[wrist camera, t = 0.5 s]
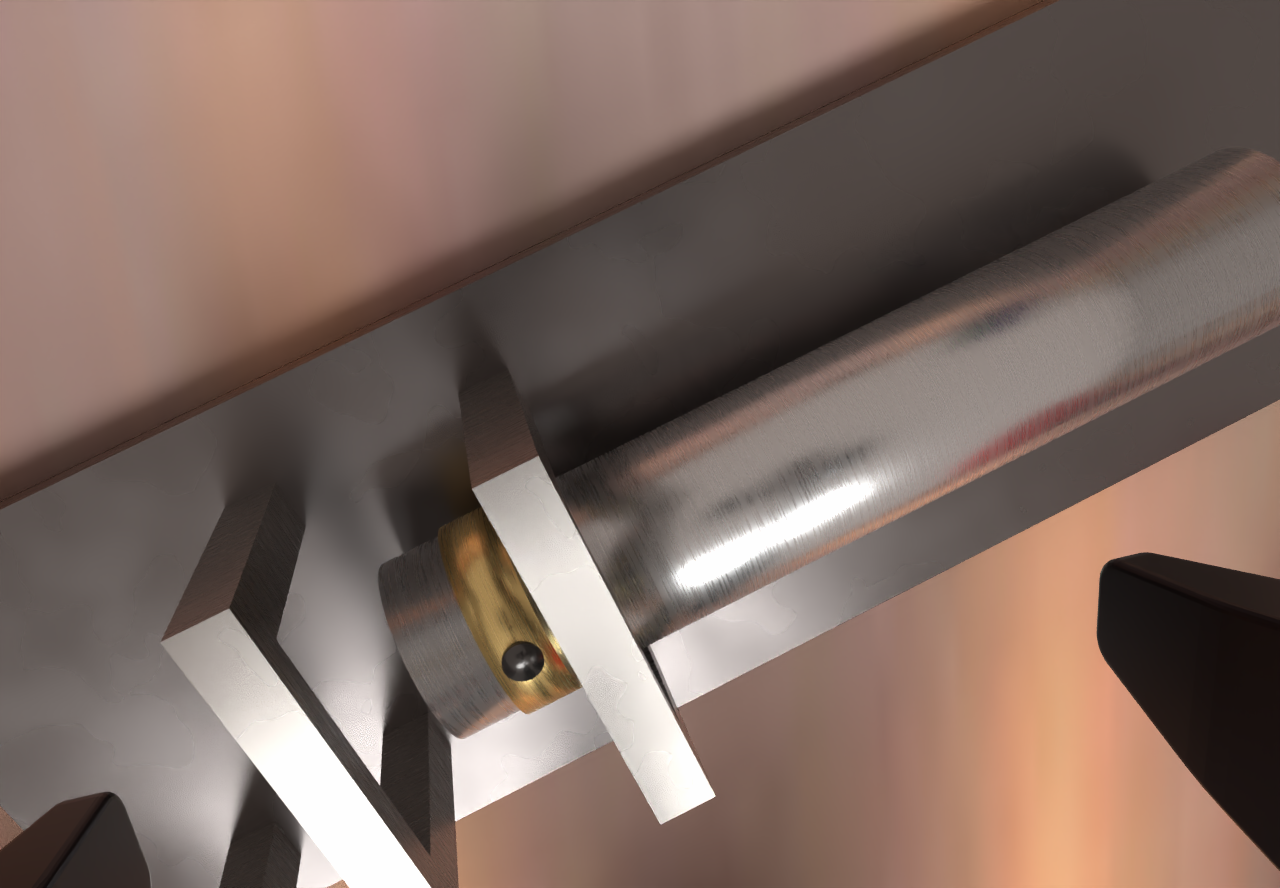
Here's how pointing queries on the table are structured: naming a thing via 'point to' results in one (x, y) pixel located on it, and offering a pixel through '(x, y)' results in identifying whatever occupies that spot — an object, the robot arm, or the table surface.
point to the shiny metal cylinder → (858, 432)
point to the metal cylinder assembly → (576, 461)
